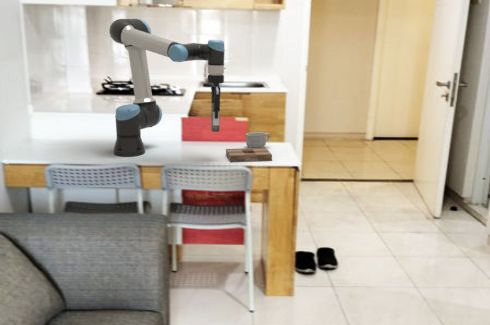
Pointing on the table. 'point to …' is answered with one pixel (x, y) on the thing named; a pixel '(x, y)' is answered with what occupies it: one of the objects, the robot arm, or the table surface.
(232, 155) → the socket block
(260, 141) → the teacup
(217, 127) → the peg
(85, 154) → the table surface
